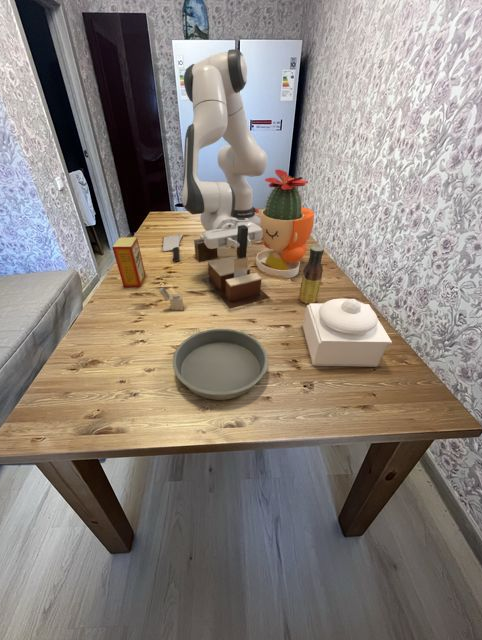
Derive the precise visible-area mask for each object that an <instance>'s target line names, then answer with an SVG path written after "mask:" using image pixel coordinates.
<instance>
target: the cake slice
mask: <svg viewBox="0 0 482 640" xmlns="http://www.w3.org/2000/svg"><path fill="white" fill-rule="evenodd" d="M262 280H263V278H262V276H260V275H259V274H258V273H257V272H254V273H250V274H248V275H244V276H240V277H235V278H231V279H227V280H226V297H227V298H228V299H229V301H230V302H231V301H235V300H238V299H242V298H246V297H250V296H254V295H258V294H260V289H261V287H262Z"/></svg>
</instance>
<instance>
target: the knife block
mask: <svg viewBox="0 0 482 640" xmlns="http://www.w3.org/2000/svg"><path fill="white" fill-rule="evenodd" d="M193 245H194V256H195V259H196V260H197V261H198V262H199V263H200V262H205V261H210V260H216V259H218V258H219V255H218V254H219V253H218V248H214V249H209V248H207V246H206V245H205V243H204V240H202V239H200V238H198V239H197V238H196V239H194V240H193Z"/></svg>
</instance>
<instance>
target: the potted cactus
mask: <svg viewBox="0 0 482 640" xmlns="http://www.w3.org/2000/svg"><path fill="white" fill-rule="evenodd" d="M274 173H275V175H276V176H277V177H278V178H279V179H280V180H281V181H280V180H278V179H277V178H276V177H268V178H265V179H264V181H265V182H267V183H269V184H268V187H269V188H271V189H270V192H269V196H268V197H267V199H266V200H265V201H264V202H265V205H264V209H263V210H262V211H261V215H260V219H261V220H260V227H261V228H262V237H263V238H262V239H263V240H262V245H263V246H264V247H265V248H267V249H265V250H261V251H260V252H258V253H257V254H256V257H255V264H256V267H257V268H258V269H259V270H260V271H263V272H264V273H266V274H269V275H272V276H277V277H283V279H292V278H294V277H296V276H297V275H298V274H299V270H300V266H301V265H300V264H301V262H300V261H301V260H302V259H303V258H304V256H305V254H306V252H307V250H308V249H307V248H308V245H307V242H308V240H309V238H310V237H311V235H312V231H313V228H314V223H315V214H314V213H315V212H314V211H313V210H312V209H311V208H307V207H304V205H303V203H304V200H303V198H302V197H301V196H302V193H301V190H299V188H298V187H305V186H306V184H308V183H309V181H307V180H304V177H302V176H299V177H296V178H295V177H294V176H293V177H291V175H288V172H287V171H285V170H283V169H279V168H278V169H275V170H274ZM261 262H262V263H261ZM263 263H264V264H263ZM266 265H267V266H266Z"/></svg>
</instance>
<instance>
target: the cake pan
mask: <svg viewBox="0 0 482 640" xmlns="http://www.w3.org/2000/svg"><path fill="white" fill-rule="evenodd" d="M268 367H269V357H268V352H267V351H266V349H265V347H264V346H263V344H262V343H261V342H260V341H259V340H258V339H257V338H255V337H254V336H252V335H250V334H248V333H246V332H244V331H241V330H237V329H232V328H211V329H206V330H203V331H199V332H197V333H194V334H192V335H190V336H188V337H187V338H186V339H184V340H183V341H182V342H180V344H179V345H178V346H177V347H176V349H175V351H174V354H173V357H172V369H173V373H174V374H175V377H176V378H177V379H178V381H180V382H181V383H182V384H183V385H184V386H185V387H186V388H187V389H188V390H189V391H191V392H192V393H193V394H195V395H197V396H199V397H202V398H204V399H207V400H215V401H216V400H217V401H222V400H223V401H225V400H231V399H235V398H237V397H241V396H242V395H244V394H247V393H248V392H249V391H250V390H252V389H253V388H254V386H255V385H256V384H257V383H258V382H260V380H262V378H263V377H264V376H265V374H266V372H267V370H268Z"/></svg>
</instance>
